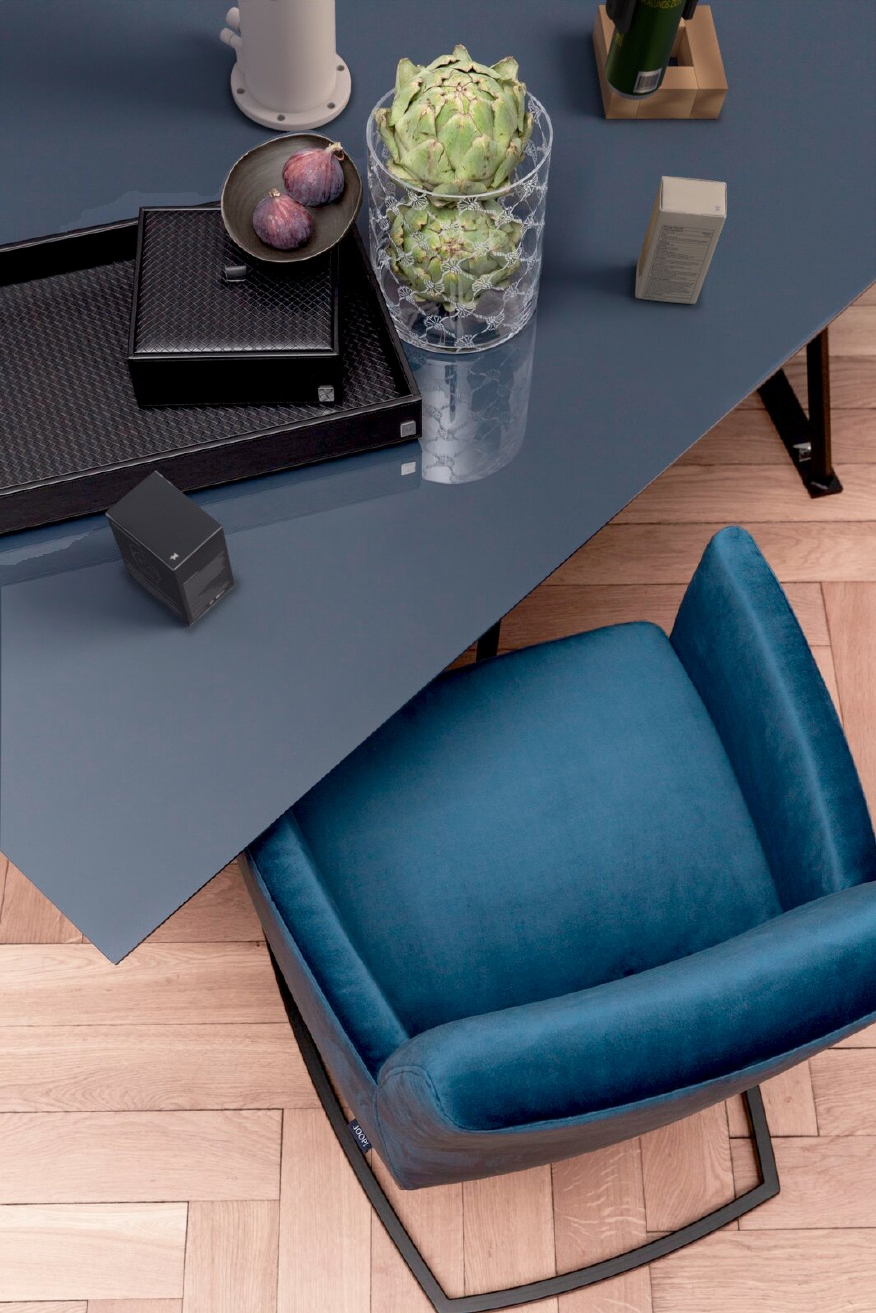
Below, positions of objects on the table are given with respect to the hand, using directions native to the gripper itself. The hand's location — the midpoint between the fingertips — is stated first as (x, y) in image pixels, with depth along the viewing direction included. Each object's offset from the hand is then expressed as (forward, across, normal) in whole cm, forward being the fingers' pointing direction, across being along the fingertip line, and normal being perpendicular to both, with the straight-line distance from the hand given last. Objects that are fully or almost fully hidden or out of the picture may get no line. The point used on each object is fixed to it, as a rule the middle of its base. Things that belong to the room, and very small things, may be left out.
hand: (649, 14), depth 103 cm
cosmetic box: (+23, -3, +11) cm, 26 cm away
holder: (+23, -14, -16) cm, 31 cm away
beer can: (+7, 0, 0) cm, 7 cm away
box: (+24, +52, +28) cm, 63 cm away
